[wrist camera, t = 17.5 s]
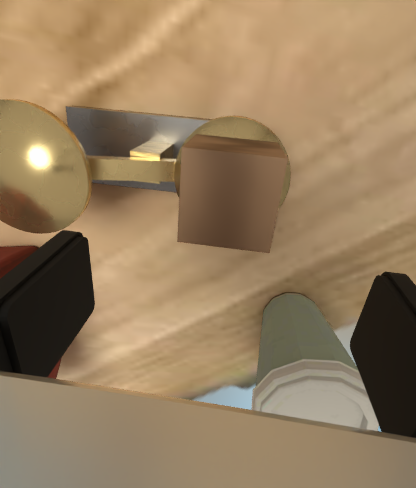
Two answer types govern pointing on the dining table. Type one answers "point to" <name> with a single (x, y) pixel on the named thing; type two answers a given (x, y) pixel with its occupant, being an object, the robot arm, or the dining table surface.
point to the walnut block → (230, 192)
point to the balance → (95, 157)
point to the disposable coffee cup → (307, 368)
